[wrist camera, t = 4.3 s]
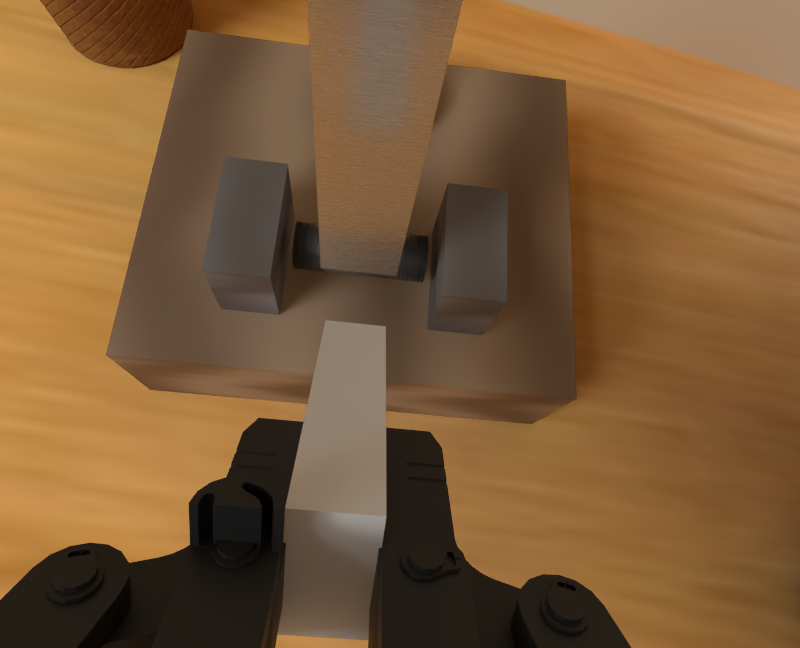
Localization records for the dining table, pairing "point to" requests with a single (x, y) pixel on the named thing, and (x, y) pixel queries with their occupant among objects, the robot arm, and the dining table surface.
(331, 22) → the lever
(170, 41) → the disposable coffee cup
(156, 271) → the base
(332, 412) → the robot arm
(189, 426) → the dining table surface
